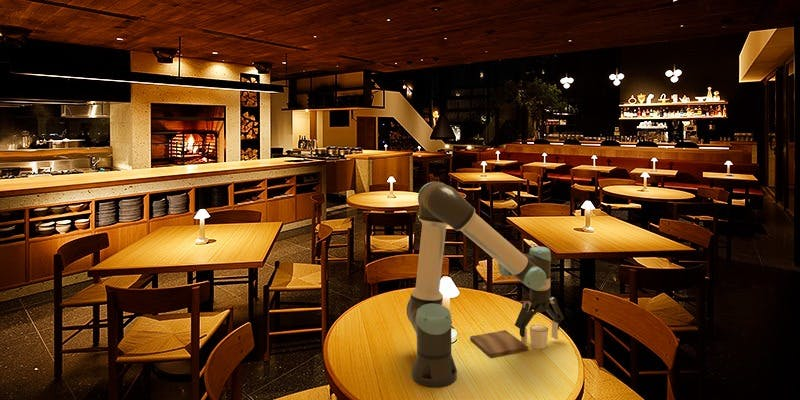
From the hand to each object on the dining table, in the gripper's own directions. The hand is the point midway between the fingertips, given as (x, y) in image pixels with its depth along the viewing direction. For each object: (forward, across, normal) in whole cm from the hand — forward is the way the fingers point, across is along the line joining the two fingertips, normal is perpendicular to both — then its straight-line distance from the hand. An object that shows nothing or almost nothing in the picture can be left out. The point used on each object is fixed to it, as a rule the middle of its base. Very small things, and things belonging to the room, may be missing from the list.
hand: (539, 341), depth 179 cm
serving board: (+2, -14, +6) cm, 16 cm away
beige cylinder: (+2, 0, 0) cm, 2 cm away
